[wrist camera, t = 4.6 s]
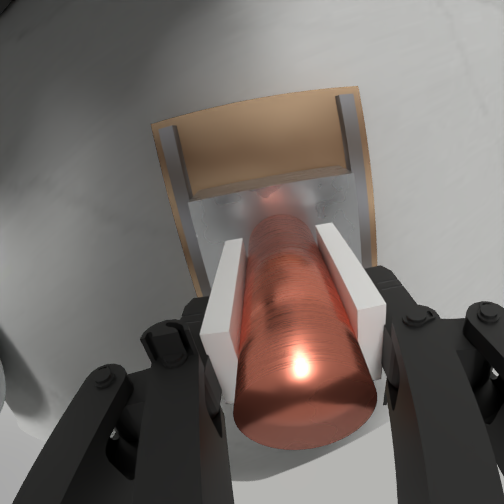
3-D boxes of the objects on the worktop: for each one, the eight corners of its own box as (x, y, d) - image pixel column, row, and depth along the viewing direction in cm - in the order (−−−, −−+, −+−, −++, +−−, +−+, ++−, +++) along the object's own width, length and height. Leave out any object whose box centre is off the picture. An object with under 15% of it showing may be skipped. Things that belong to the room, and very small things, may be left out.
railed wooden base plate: (158, 124, 18) (144, 124, 15) (350, 88, 16) (363, 84, 14) (223, 356, 24) (220, 377, 22) (370, 332, 23) (379, 351, 21)
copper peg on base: (199, 189, 17) (83, 328, 5) (338, 165, 17) (491, 260, 5) (230, 309, 20) (202, 497, 8) (350, 288, 20) (425, 464, 8)
